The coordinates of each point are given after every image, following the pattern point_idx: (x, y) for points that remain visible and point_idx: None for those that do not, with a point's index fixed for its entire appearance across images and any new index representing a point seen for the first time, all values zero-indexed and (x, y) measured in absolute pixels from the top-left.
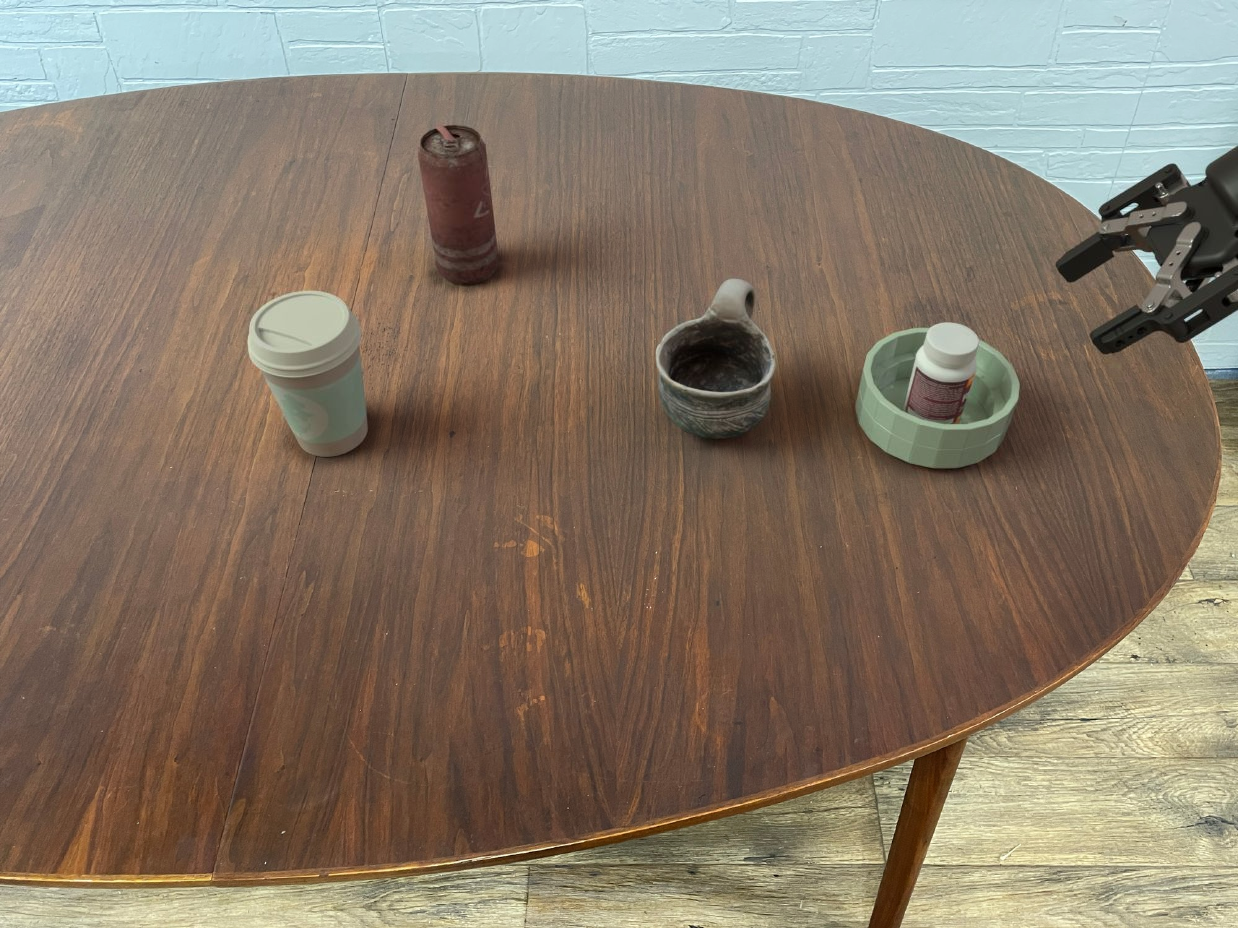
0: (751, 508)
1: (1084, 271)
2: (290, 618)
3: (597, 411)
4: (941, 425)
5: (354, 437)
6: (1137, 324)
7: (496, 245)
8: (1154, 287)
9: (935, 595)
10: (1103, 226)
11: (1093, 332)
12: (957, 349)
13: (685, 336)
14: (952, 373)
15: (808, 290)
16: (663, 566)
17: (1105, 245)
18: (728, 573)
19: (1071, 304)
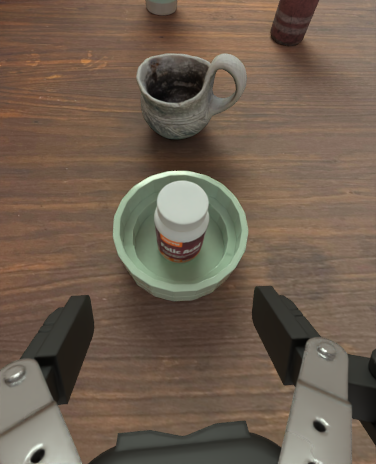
0: (101, 139)
1: (261, 333)
2: (61, 5)
3: None
4: (118, 214)
5: (151, 5)
6: (24, 353)
7: (295, 28)
8: (48, 397)
9: (13, 225)
10: (325, 344)
11: (81, 296)
12: (164, 201)
13: (203, 70)
14: (157, 213)
15: (316, 183)
16: (65, 103)
17: (288, 355)
18: (55, 127)
19: None
